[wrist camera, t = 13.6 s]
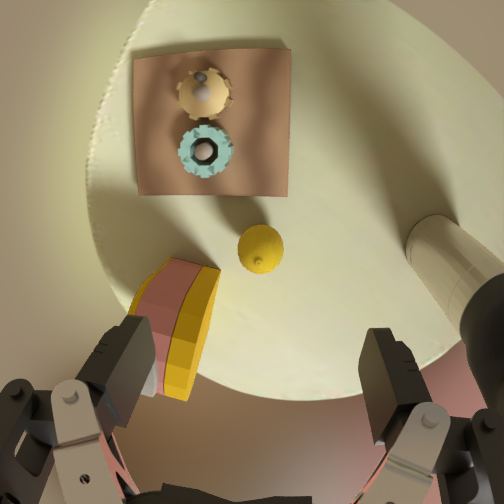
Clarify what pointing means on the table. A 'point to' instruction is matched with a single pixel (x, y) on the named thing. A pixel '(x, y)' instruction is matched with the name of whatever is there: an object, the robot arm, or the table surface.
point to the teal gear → (189, 146)
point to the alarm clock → (176, 323)
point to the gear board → (213, 120)
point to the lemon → (260, 249)
